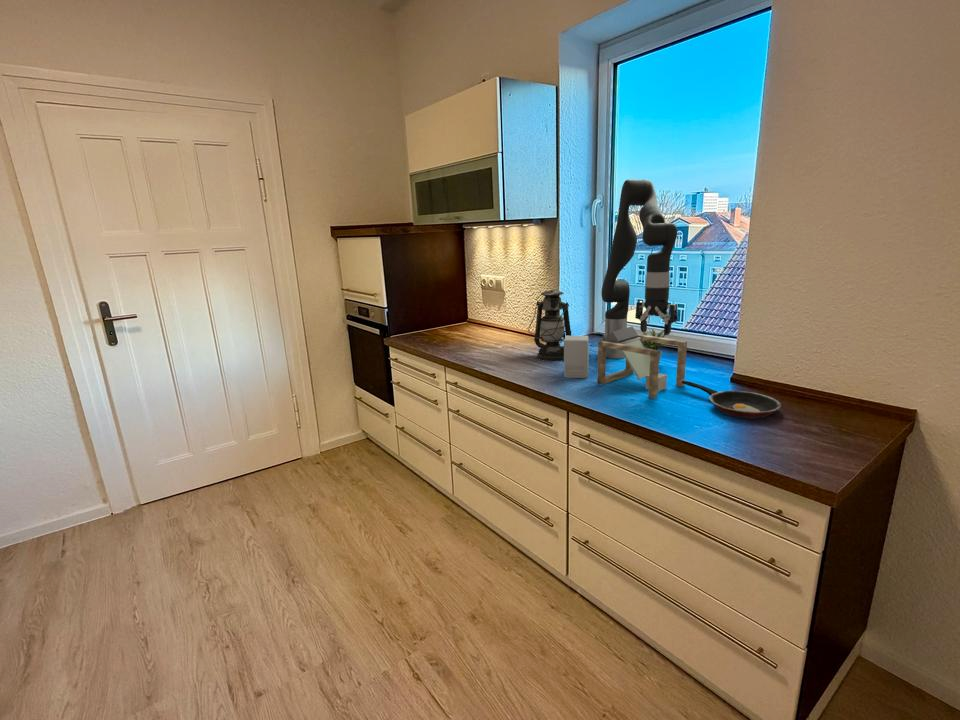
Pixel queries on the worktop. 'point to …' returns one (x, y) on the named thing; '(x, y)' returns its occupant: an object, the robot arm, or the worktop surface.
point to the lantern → (551, 326)
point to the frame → (653, 354)
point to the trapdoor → (635, 360)
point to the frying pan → (740, 402)
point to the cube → (661, 381)
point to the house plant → (649, 344)
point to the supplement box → (576, 357)
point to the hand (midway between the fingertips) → (655, 333)
